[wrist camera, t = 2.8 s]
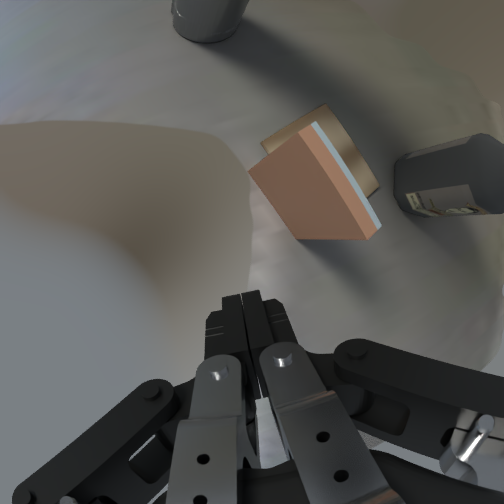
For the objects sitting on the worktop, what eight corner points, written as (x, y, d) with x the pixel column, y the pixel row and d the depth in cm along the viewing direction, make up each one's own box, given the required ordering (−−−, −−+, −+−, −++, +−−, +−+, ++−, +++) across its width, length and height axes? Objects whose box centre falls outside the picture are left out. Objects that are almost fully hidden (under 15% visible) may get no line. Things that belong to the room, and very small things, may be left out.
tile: (247, 171, 34) (297, 132, 20) (260, 162, 34) (315, 121, 20) (295, 239, 36) (367, 240, 22) (307, 229, 36) (381, 225, 23)
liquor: (393, 151, 40) (565, 104, 11) (428, 168, 42) (580, 141, 13) (390, 208, 40) (583, 192, 11) (427, 220, 42) (590, 216, 14)
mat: (260, 143, 34) (260, 142, 33) (324, 104, 36) (325, 103, 36) (324, 235, 37) (325, 235, 36) (378, 185, 39) (379, 185, 39)
